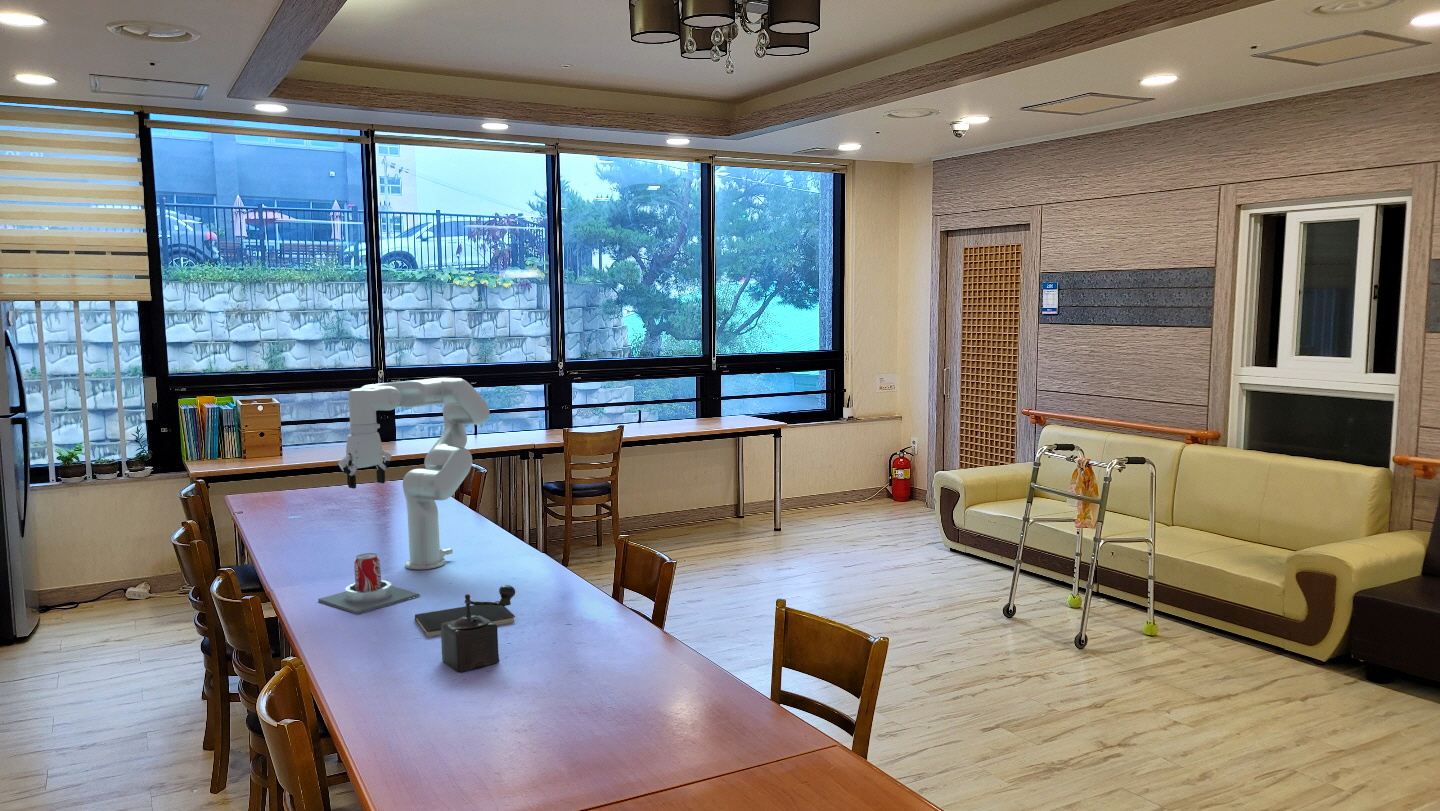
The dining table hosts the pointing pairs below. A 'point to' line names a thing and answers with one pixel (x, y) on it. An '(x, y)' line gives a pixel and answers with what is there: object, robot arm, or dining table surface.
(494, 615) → the hardcover book
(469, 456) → the robot arm
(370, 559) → the soda can
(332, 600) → the mat
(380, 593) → the ring collar
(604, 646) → the dining table surface
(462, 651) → the manual coffee grinder
